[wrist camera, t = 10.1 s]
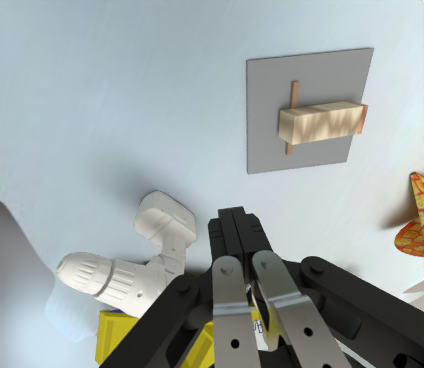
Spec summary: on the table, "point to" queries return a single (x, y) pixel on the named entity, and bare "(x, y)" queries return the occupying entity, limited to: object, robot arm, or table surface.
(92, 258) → the power drill
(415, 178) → the sculpture
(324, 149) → the mat
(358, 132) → the birch block
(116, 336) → the toy truck
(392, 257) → the table surface
